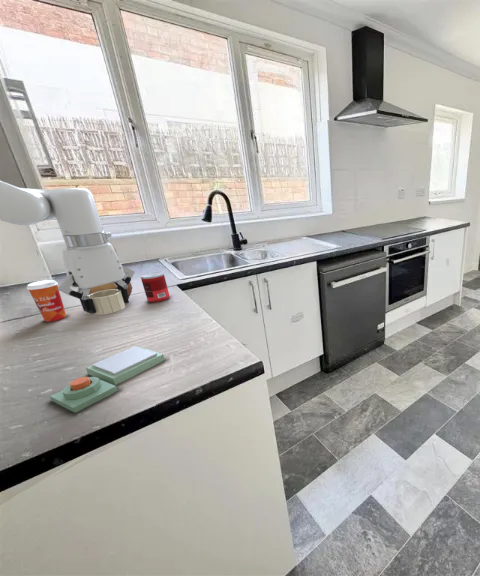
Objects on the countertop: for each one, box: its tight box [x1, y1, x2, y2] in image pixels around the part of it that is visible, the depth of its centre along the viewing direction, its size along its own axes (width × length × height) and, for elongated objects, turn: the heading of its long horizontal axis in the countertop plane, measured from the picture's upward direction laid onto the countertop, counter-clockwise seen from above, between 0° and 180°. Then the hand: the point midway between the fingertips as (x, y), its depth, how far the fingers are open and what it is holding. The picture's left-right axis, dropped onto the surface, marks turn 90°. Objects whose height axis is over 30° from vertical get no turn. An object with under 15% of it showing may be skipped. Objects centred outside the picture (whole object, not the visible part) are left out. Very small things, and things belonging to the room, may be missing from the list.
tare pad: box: [49, 376, 118, 414], centre depth 71 cm, size 10×8×3 cm
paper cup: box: [26, 279, 67, 323], centre depth 111 cm, size 8×8×14 cm
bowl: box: [89, 289, 127, 316], centre depth 81 cm, size 7×7×4 cm
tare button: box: [69, 376, 91, 391], centre depth 70 cm, size 3×3×2 cm
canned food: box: [140, 271, 170, 303], centre depth 129 cm, size 8×8×11 cm
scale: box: [85, 345, 166, 386], centre depth 82 cm, size 12×12×3 cm
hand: (108, 306), depth 82 cm, fingers closed on bowl, 6 cm apart
